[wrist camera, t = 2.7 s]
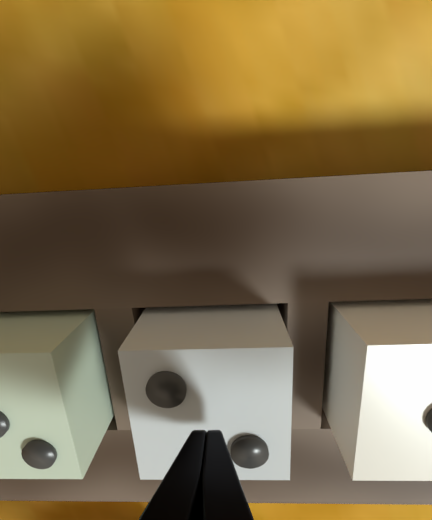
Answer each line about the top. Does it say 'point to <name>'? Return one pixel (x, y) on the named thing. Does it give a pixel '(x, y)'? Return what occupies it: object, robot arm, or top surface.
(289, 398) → the tile two
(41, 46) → the top surface
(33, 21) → the top surface
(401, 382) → the tile one
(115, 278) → the grey tray with tiles
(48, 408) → the tile three
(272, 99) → the top surface
